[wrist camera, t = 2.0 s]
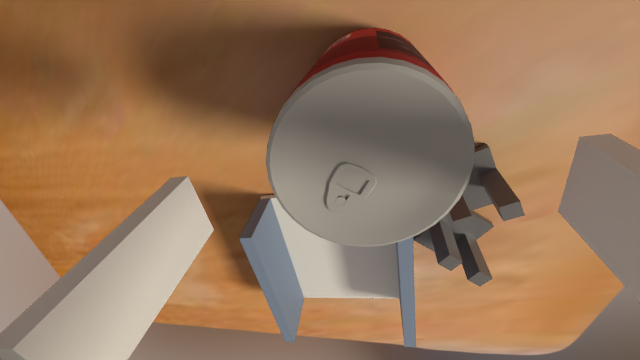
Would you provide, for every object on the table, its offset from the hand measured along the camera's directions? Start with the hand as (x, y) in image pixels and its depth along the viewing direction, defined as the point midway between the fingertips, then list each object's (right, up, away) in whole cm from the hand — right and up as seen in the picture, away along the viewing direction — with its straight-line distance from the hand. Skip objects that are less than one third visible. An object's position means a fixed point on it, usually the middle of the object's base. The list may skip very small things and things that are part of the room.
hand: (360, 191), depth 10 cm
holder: (+1, -6, +18) cm, 19 cm away
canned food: (+2, +7, +10) cm, 12 cm away
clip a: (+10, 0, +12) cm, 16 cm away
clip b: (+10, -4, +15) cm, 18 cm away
